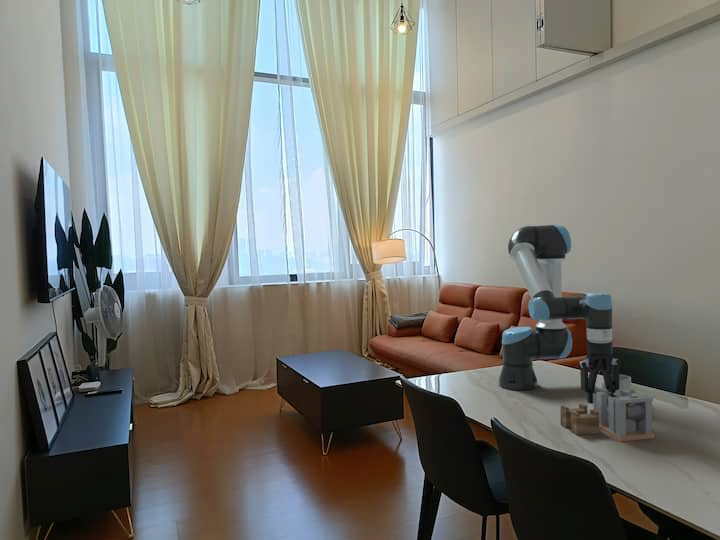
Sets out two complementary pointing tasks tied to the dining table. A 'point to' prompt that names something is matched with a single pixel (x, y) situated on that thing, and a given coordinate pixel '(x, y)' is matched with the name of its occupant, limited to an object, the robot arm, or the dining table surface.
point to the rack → (580, 419)
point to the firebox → (624, 416)
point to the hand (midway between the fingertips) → (600, 412)
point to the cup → (621, 384)
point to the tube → (627, 407)
